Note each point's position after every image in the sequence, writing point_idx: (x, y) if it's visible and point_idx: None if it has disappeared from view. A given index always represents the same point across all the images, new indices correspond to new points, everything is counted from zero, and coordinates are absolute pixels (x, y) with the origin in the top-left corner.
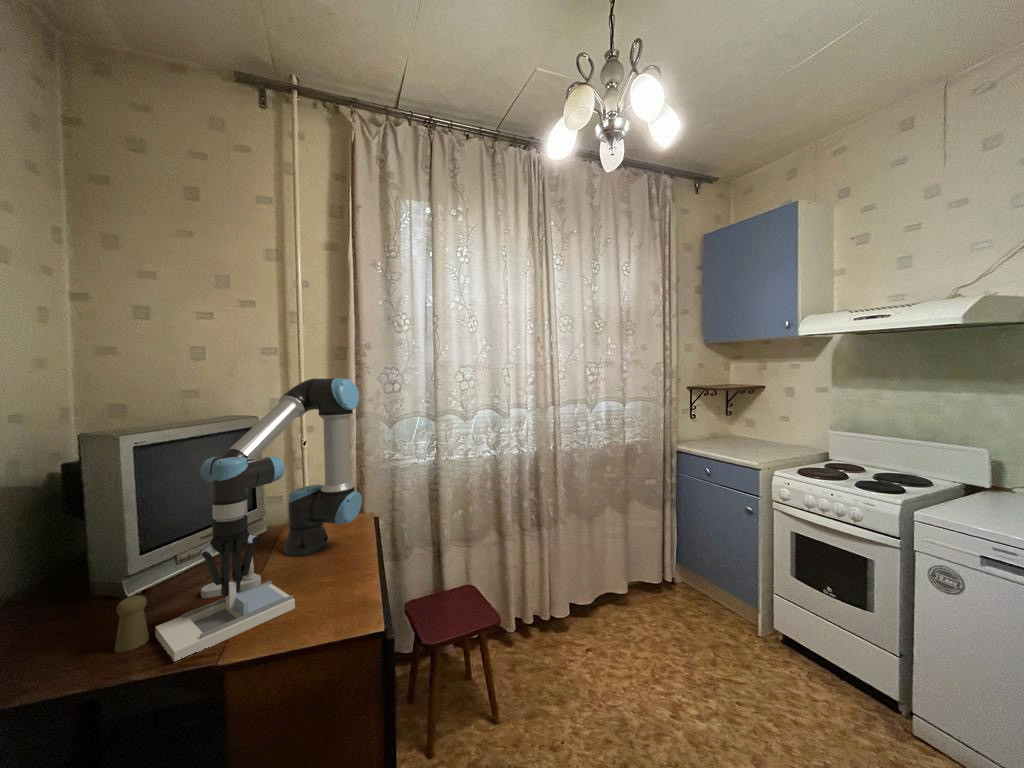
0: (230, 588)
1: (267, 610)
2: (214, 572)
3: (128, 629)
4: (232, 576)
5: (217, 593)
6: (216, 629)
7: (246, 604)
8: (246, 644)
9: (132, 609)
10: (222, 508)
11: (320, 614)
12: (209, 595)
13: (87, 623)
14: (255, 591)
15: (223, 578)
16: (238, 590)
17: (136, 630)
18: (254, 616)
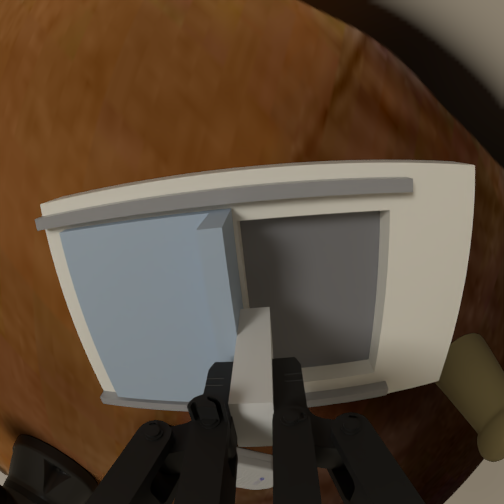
0: (266, 378)
1: (133, 192)
2: (402, 498)
3: (500, 371)
4: (236, 457)
5: (250, 456)
6: (356, 179)
7: (207, 224)
8: (260, 62)
9: None
10: None
11: (26, 89)
12: (268, 459)
13: (438, 463)
14: (151, 377)
15: (313, 450)
16: (218, 366)
17: (485, 367)
18: (190, 181)
